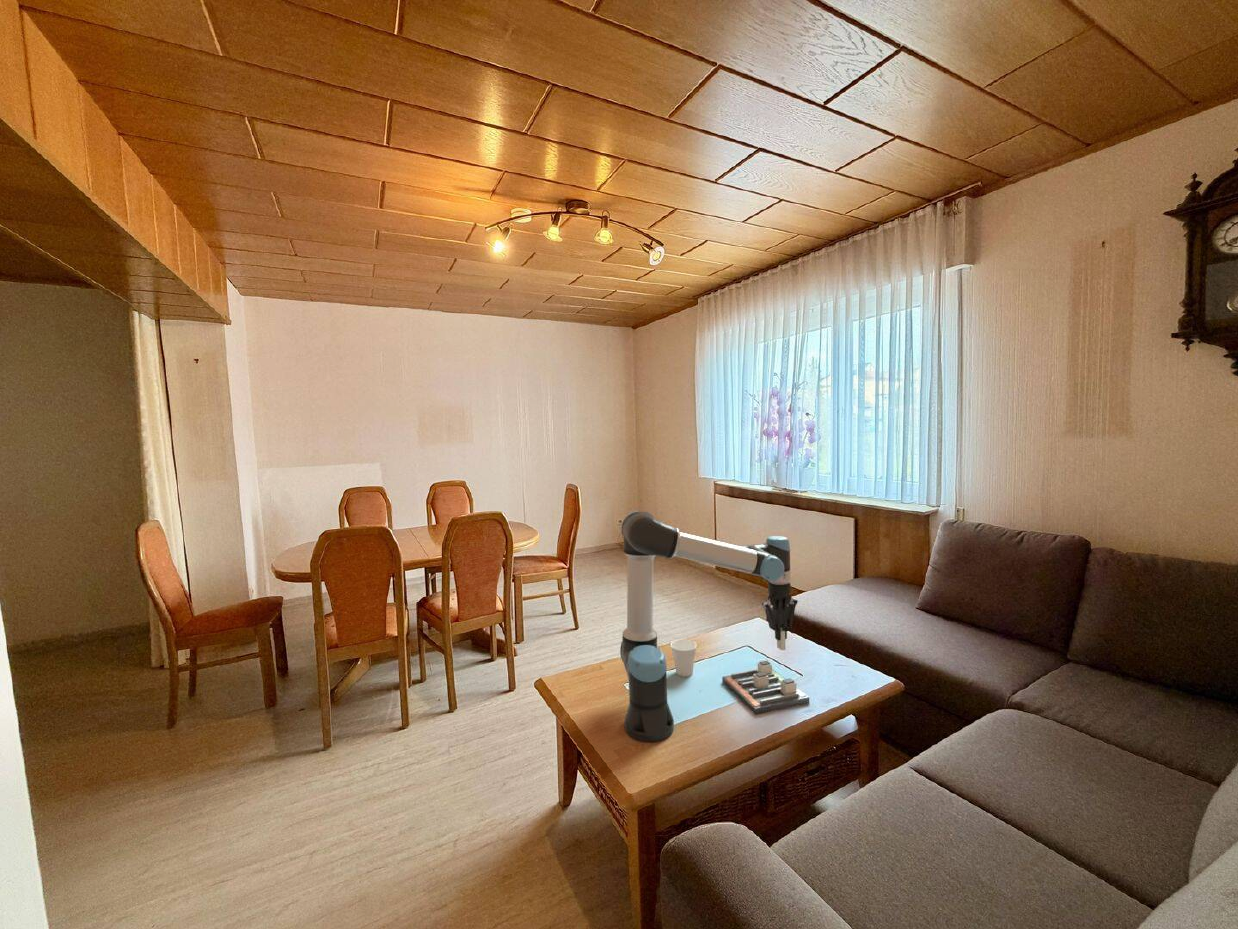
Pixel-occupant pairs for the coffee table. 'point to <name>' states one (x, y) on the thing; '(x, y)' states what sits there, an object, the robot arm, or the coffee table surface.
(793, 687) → the block
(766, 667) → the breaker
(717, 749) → the coffee table surface
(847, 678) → the coffee table surface
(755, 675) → the block
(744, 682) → the panel
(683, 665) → the cup
